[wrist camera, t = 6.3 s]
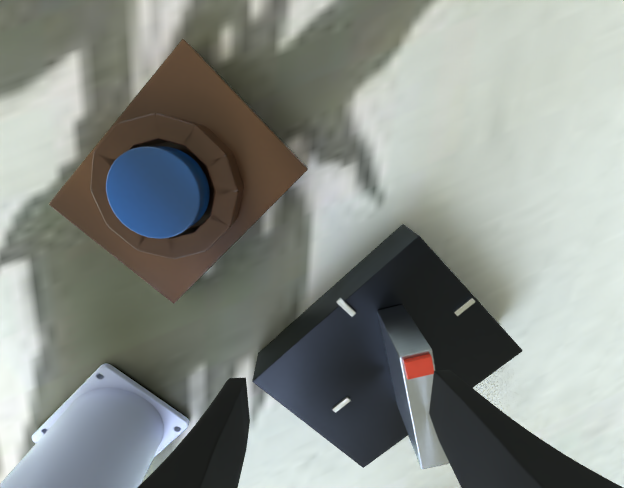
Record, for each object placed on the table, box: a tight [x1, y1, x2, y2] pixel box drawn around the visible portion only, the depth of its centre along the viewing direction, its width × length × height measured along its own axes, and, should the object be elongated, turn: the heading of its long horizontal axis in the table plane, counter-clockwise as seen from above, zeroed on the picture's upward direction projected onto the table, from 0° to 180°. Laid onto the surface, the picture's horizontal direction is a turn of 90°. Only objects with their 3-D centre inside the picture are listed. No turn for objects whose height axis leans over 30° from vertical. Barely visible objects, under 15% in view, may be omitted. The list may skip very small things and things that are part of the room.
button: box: [106, 146, 210, 239], centre depth 16 cm, size 4×4×2 cm
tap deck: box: [253, 224, 522, 468], centre depth 22 cm, size 14×12×3 cm
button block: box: [49, 39, 307, 303], centre depth 18 cm, size 12×9×4 cm
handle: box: [378, 305, 449, 469], centre depth 18 cm, size 8×2×5 cm, turn 14°
